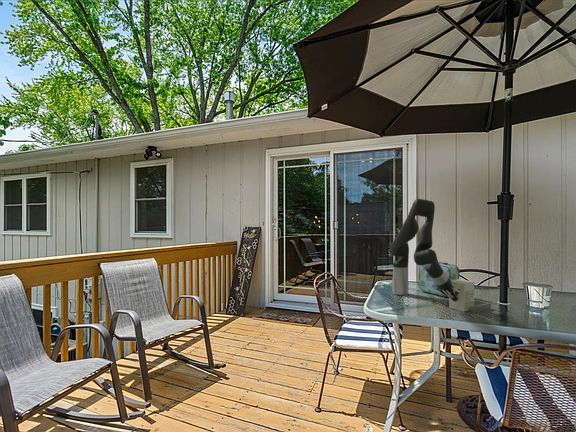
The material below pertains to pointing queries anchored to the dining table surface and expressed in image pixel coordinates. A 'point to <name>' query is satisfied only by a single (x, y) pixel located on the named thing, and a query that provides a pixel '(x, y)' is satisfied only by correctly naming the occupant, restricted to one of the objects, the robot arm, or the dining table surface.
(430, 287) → the lunch box
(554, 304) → the dining table surface
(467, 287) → the supplement box
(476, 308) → the tray
